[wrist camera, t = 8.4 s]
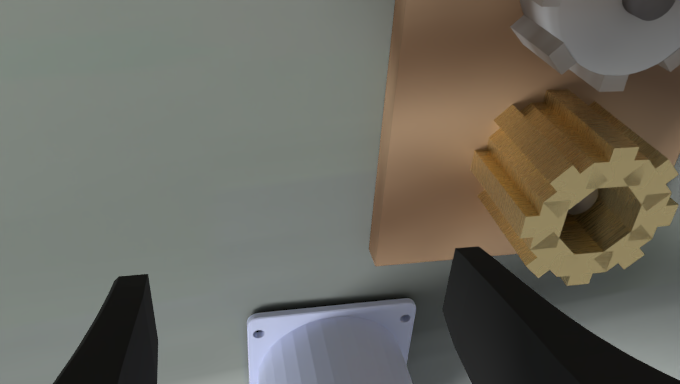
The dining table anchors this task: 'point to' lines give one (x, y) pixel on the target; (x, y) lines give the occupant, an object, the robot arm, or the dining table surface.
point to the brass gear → (573, 187)
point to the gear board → (505, 102)
